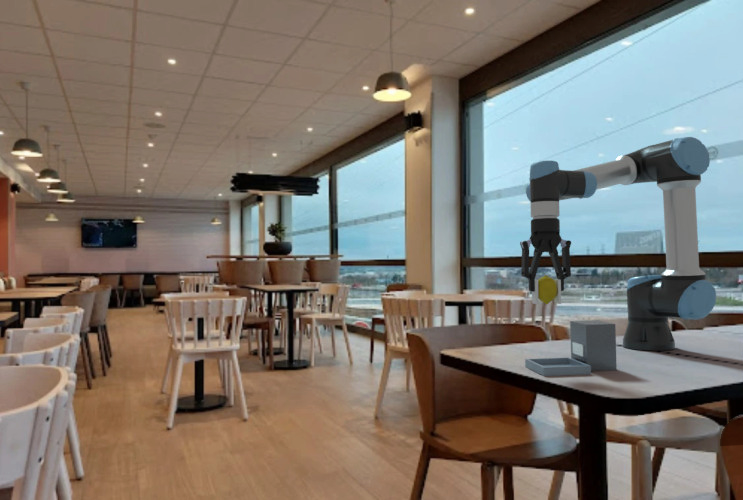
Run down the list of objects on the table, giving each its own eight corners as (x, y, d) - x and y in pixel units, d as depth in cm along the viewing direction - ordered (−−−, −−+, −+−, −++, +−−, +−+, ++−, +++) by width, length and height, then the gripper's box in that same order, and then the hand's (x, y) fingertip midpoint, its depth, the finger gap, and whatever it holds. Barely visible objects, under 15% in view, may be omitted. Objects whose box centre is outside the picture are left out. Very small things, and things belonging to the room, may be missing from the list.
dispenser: (600, 363, 152) (599, 320, 152) (618, 370, 143) (616, 323, 143) (570, 364, 151) (569, 321, 152) (586, 371, 142) (584, 324, 143)
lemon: (554, 303, 152) (554, 274, 152) (559, 305, 146) (558, 275, 146) (534, 303, 152) (533, 274, 153) (537, 305, 147) (537, 275, 147)
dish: (569, 365, 151) (568, 357, 151) (591, 374, 139) (590, 365, 139) (525, 366, 150) (525, 358, 150) (543, 375, 137) (543, 367, 138)
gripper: (572, 219, 154) (573, 302, 154) (507, 219, 153) (508, 303, 152) (584, 216, 147) (586, 304, 146) (516, 217, 145) (517, 305, 145)
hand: (546, 303), depth 149 cm, fingers closed on lemon, 5 cm apart
